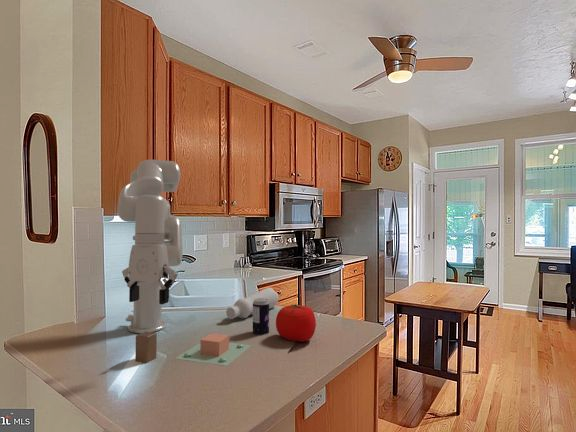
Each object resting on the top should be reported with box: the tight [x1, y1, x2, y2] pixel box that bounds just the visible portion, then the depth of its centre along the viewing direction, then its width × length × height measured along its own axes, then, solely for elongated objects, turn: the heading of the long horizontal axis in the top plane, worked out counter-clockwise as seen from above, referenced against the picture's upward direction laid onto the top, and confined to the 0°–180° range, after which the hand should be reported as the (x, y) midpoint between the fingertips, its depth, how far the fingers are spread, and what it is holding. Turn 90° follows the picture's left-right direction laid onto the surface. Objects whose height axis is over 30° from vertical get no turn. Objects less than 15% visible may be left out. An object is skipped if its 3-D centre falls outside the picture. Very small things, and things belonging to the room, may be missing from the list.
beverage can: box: [252, 298, 270, 336], centre depth 118 cm, size 6×6×12 cm
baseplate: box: [174, 342, 252, 367], centre depth 99 cm, size 16×16×2 cm
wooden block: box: [134, 331, 158, 364], centre depth 93 cm, size 4×4×8 cm
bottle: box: [226, 287, 280, 320], centre depth 145 cm, size 9×9×30 cm
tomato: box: [275, 303, 317, 343], centre depth 113 cm, size 13×14×12 cm
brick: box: [199, 333, 230, 356], centre depth 99 cm, size 6×6×4 cm
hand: (148, 302), depth 94 cm, fingers open, 9 cm apart
